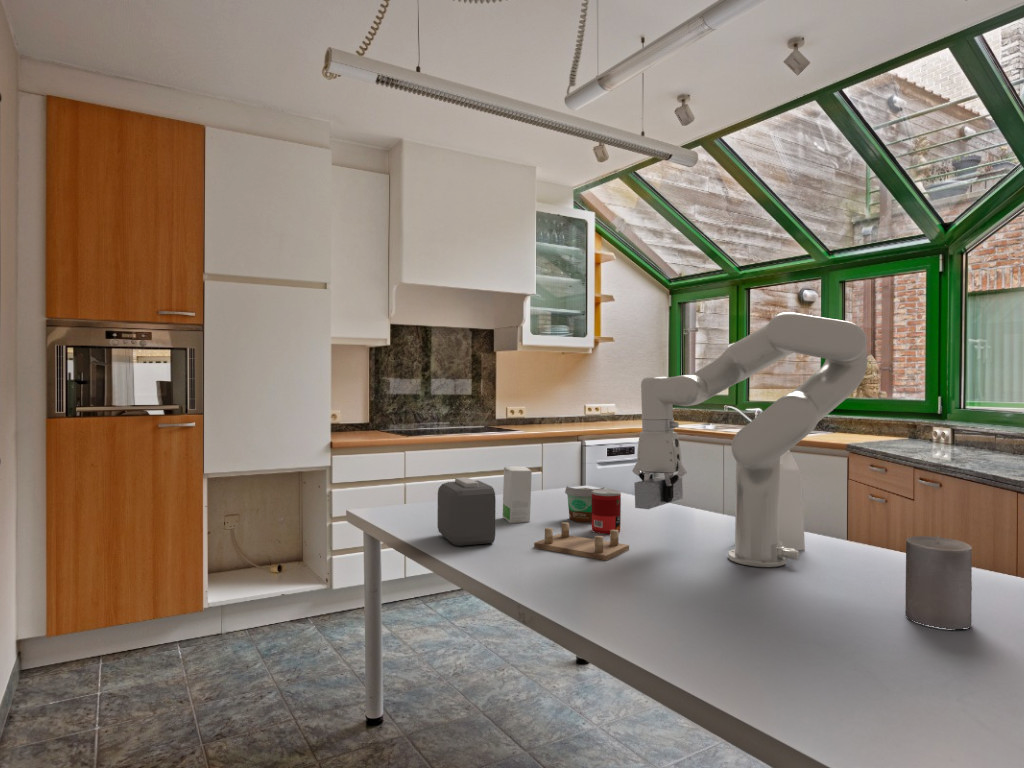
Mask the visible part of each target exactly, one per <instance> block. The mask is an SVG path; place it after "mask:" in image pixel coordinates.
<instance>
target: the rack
mask: <svg viewBox="0 0 1024 768" xmlns="http://www.w3.org/2000/svg"><path fill="white" fill-rule="evenodd" d="M553 530H554V528H552V527H544V538H543V539H541V540H538V541H535V542H534V543H533V548H535V549H541V550H546V551H550V552H556V553H562V554H568V555H574V556H579V557H583V558H584V557H586V558H591V559H596V560H601V561H604V562H605V561H606V562H607V561H609V560H611V559H613V558H615V557H617V556H619V555H621V554H624V553H626V552H627V551H629V550H630V544H625V543H621V542H620V543H619V532H618V530H610V534H609V541H606V540H604V536H603V535H595V536H594V538H588V537H583V536H575V535H570V523H569V522H566V521H565V522H561V526H560V530H561V531H560V533H557V534H554V531H553ZM553 534H554V535H553Z"/></svg>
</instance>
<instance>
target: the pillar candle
mask: <svg viewBox="0 0 1024 768" xmlns="http://www.w3.org/2000/svg"><path fill="white" fill-rule="evenodd" d="M972 550H973V547H972V546H971V545H970V544H968V543H966V542H965V541H961V540H957V539H953V538H948V537H940V534H937V536H931V535H930V536H929V535H925V536H924V535H919V536H918V535H917V536H916V535H915V536H909V537H907V538H906V540H905V606H904V607H905V611H904V612H905V617H906V616H907V617H908V618H909V619H911V620H913V621H915V622H918V623H921V624H924V625H929V626H934V627H939V628H946V629H963V628H968V627H970V626H971V627H972V621H973V619H972V607H973V606H972V600H973V598H972V597H973V596H972V594H973V593H972V591H973V589H972V588H973V587H972V586H973V584H972V583H973V582H972V579H973V578H972V576H973V575H972V571H973V569H972V568H973V567H972V566H973V565H972V559H973V558H972ZM907 617H906V618H907ZM908 618H907V619H908ZM909 619H908V620H909ZM911 620H910V621H911ZM971 627H970V628H971Z"/></svg>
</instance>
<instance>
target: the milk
mask: <svg viewBox="0 0 1024 768" xmlns="http://www.w3.org/2000/svg"><path fill="white" fill-rule="evenodd" d="M804 517H805V516H804V497H803V477H802V472H801V470H800V468H799V466H798V464H797V462H796V460H795V458H794V456H793V454H792V452H791V449H789V450H788V451H787V452H785V453H784V454H783V455H782V456H780V487H779V541H782V542H783V547H785V548H788V549H789V548H790V549H795V550H796V551H805V550H806V543H805V541H806V540H805V539H806V538H805V522H804V521H805V518H804Z"/></svg>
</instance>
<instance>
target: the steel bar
mask: <svg viewBox="0 0 1024 768" xmlns="http://www.w3.org/2000/svg"><path fill="white" fill-rule="evenodd" d="M673 474H674V473H673ZM676 474H677V473H675V474H674V475H676ZM665 486H666V480H665V475H661V476H656V477H653V478H651V479H647V480H643V481H642V480H639V481H636V482H634V509H640V510H641V509H642V510H651V509H654V508H656V507H659V506H663V505H667V504H670V503H673V502H677V501H679V500H682V499H683V497H684V496H683V493H684V492H683V477H681V478H680V479H679V480H678V481H677V482H676V483H675V484H674V485H673V495H674V496H673V499H672V501H671V502H668V503H667V502H665V497H664V487H665Z"/></svg>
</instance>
